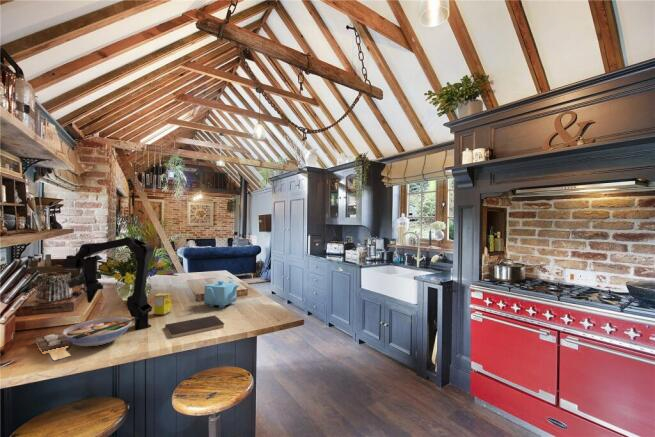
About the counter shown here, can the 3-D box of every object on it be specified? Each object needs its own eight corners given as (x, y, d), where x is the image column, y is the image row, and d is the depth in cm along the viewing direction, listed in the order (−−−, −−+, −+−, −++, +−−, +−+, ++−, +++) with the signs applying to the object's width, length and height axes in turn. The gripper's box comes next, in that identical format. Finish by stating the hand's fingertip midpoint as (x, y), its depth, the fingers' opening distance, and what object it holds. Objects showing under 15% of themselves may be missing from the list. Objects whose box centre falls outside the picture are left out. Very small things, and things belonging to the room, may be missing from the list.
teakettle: (202, 303, 183) (203, 279, 183) (234, 299, 192) (234, 276, 192) (206, 311, 167) (206, 285, 167) (240, 307, 175) (240, 282, 176)
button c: (56, 341, 124) (56, 335, 124) (44, 344, 121) (44, 338, 121) (54, 339, 126) (54, 333, 126) (43, 342, 123) (43, 336, 123)
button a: (61, 347, 118) (61, 341, 118) (49, 350, 115) (49, 344, 115) (59, 345, 120) (59, 339, 120) (48, 347, 117) (48, 341, 117)
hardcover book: (224, 328, 142) (224, 323, 143) (171, 339, 129) (171, 334, 129) (214, 319, 155) (214, 315, 155) (165, 328, 141) (165, 324, 141)
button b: (58, 342, 121) (58, 336, 121) (47, 344, 118) (47, 338, 118) (56, 340, 123) (56, 334, 123) (45, 342, 120) (45, 336, 120)
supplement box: (171, 312, 164) (171, 292, 165) (164, 316, 158) (164, 295, 159) (161, 312, 165) (161, 292, 165) (153, 315, 159) (153, 295, 159)
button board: (70, 347, 119) (70, 342, 119) (42, 354, 112) (42, 349, 112) (60, 337, 129) (60, 332, 129) (34, 343, 123) (34, 337, 123)
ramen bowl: (111, 329, 139) (112, 311, 139) (146, 336, 130) (146, 318, 130) (45, 351, 115) (45, 330, 115) (82, 361, 107) (82, 339, 107)
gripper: (62, 269, 140) (62, 302, 140) (72, 274, 129) (72, 310, 128) (92, 266, 149) (91, 297, 149) (103, 271, 137) (103, 304, 137)
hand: (89, 302), depth 141 cm, fingers closed
